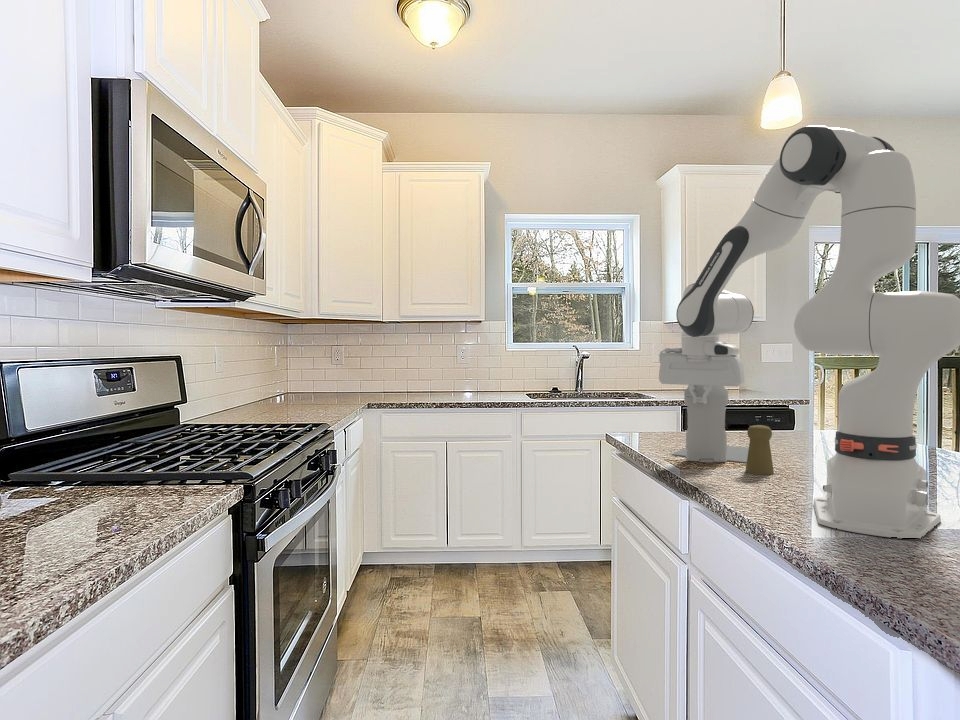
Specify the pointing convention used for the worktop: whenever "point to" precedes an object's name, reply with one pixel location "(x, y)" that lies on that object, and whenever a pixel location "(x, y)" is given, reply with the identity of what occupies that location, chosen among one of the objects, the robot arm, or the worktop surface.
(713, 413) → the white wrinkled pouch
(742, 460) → the mat
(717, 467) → the worktop surface
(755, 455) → the cork
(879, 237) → the robot arm
